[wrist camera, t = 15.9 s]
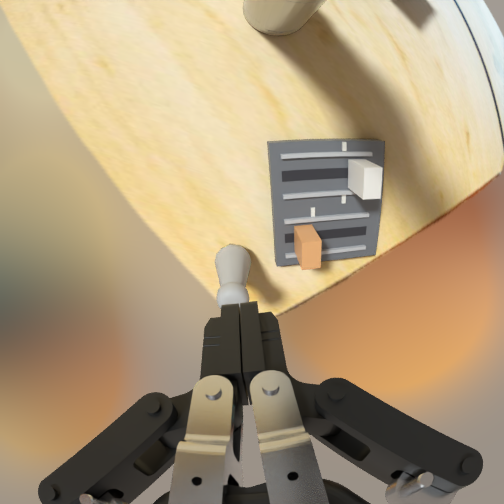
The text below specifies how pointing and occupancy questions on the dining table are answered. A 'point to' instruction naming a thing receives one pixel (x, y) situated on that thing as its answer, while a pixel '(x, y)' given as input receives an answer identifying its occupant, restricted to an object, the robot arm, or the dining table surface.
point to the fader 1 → (307, 247)
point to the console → (322, 196)
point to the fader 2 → (364, 178)
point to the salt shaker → (232, 274)
